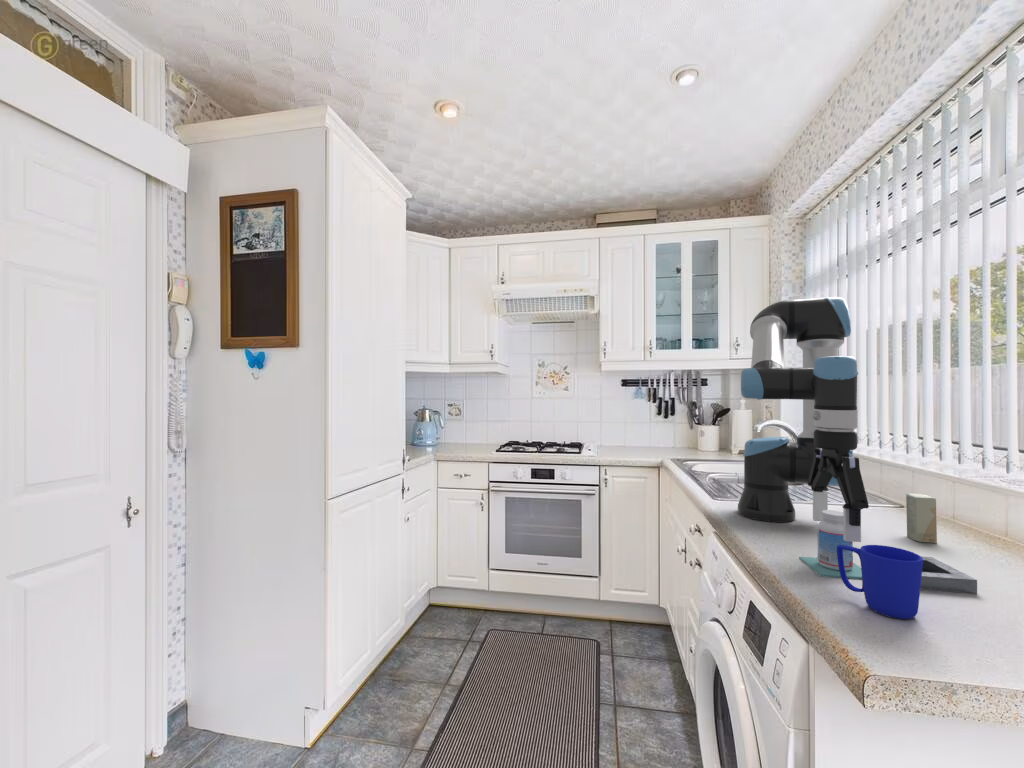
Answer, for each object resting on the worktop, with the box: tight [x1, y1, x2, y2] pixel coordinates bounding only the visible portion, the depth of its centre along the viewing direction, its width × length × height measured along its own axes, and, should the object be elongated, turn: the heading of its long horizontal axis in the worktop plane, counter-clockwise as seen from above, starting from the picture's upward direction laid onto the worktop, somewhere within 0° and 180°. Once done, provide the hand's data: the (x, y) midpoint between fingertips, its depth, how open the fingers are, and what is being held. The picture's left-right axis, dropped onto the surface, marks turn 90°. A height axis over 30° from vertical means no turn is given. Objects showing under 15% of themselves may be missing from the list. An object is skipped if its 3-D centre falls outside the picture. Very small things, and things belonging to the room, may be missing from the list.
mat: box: [798, 556, 862, 580], centre depth 97 cm, size 10×10×1 cm
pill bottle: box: [817, 509, 854, 571], centre depth 98 cm, size 6×6×11 cm
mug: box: [837, 544, 923, 620], centre depth 80 cm, size 8×12×10 cm
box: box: [905, 492, 938, 544], centre depth 117 cm, size 5×4×11 cm
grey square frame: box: [920, 555, 978, 595], centre depth 93 cm, size 12×12×2 cm
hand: (835, 530), depth 98 cm, fingers open, 13 cm apart
